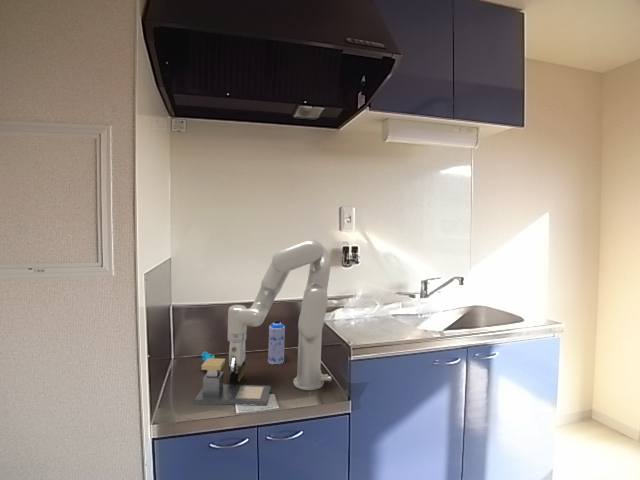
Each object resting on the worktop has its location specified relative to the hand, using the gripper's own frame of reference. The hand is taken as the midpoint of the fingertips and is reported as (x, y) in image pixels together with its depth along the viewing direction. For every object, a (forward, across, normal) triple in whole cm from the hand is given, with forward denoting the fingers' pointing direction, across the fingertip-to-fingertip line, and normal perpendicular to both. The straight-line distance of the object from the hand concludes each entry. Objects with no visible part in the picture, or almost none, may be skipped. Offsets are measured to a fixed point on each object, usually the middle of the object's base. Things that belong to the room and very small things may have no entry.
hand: (236, 377), depth 145 cm
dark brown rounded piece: (+2, 0, 0) cm, 2 cm away
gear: (+2, +12, +14) cm, 19 cm away
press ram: (-3, -12, +6) cm, 14 cm away
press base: (+2, -12, -2) cm, 12 cm away
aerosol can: (+2, +22, -14) cm, 26 cm away
